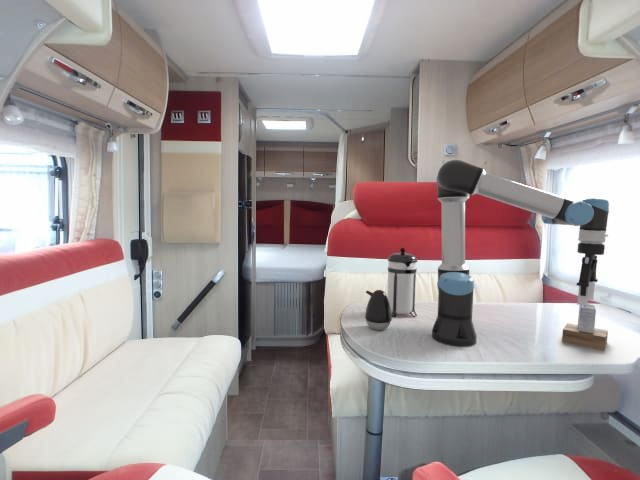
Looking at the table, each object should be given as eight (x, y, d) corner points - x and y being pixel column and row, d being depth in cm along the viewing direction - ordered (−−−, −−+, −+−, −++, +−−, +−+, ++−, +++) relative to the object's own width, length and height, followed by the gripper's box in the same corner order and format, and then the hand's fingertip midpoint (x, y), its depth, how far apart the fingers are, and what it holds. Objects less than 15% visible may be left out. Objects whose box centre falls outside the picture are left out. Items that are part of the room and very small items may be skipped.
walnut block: (604, 351, 120) (605, 337, 119) (562, 342, 128) (562, 329, 128) (606, 344, 127) (607, 330, 127) (566, 336, 135) (567, 323, 135)
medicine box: (593, 334, 123) (596, 309, 122) (578, 331, 125) (580, 307, 124) (592, 328, 129) (594, 305, 128) (577, 325, 132) (579, 302, 131)
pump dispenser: (369, 322, 146) (370, 286, 145) (394, 326, 141) (395, 289, 140) (360, 329, 137) (361, 290, 136) (387, 334, 132) (388, 293, 131)
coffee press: (424, 313, 161) (427, 247, 159) (407, 320, 150) (409, 250, 147) (391, 306, 173) (393, 245, 171) (372, 312, 161) (374, 246, 159)
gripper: (600, 245, 113) (593, 310, 115) (609, 242, 131) (603, 298, 133) (571, 242, 119) (565, 305, 120) (584, 240, 137) (578, 295, 138)
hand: (585, 302), depth 127 cm, fingers open, 13 cm apart
